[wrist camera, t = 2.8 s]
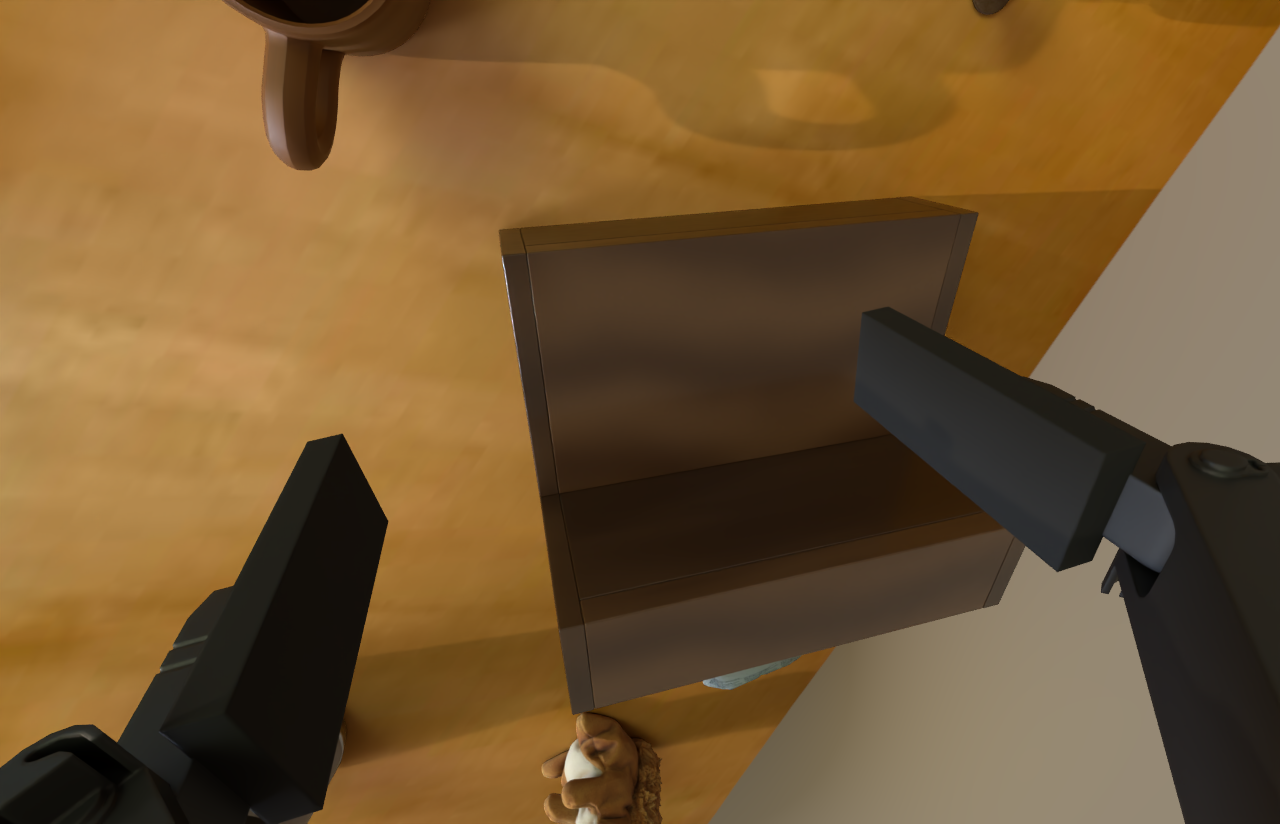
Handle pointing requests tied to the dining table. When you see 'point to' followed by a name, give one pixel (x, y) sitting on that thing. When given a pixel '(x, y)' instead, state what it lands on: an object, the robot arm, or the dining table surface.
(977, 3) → the place setting
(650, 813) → the stuffed squirrel
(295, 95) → the mug
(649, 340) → the stepped stand
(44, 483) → the dining table surface
